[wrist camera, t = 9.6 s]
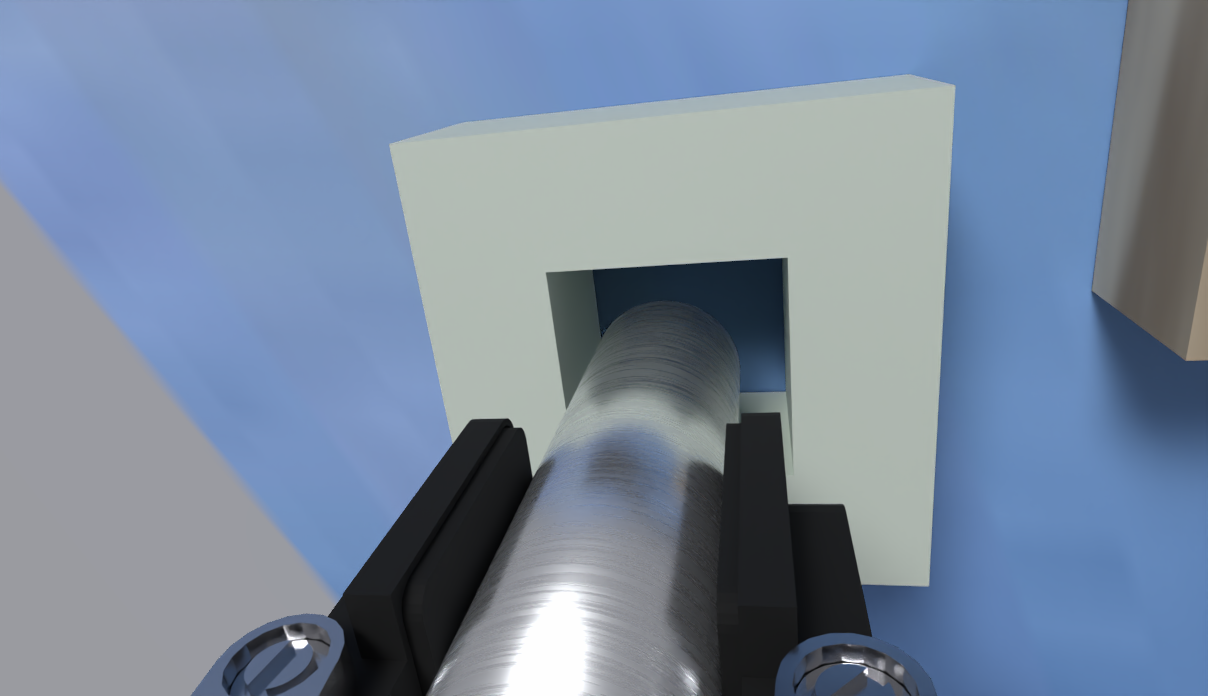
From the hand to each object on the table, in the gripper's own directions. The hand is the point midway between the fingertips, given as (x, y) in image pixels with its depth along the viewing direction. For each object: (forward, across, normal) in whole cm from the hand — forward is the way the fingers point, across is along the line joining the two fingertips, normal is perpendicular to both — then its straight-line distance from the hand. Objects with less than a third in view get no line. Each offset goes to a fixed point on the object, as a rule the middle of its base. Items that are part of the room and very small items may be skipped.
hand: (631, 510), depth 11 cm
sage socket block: (+9, 0, 0) cm, 9 cm away
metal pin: (+5, 0, 0) cm, 5 cm away
